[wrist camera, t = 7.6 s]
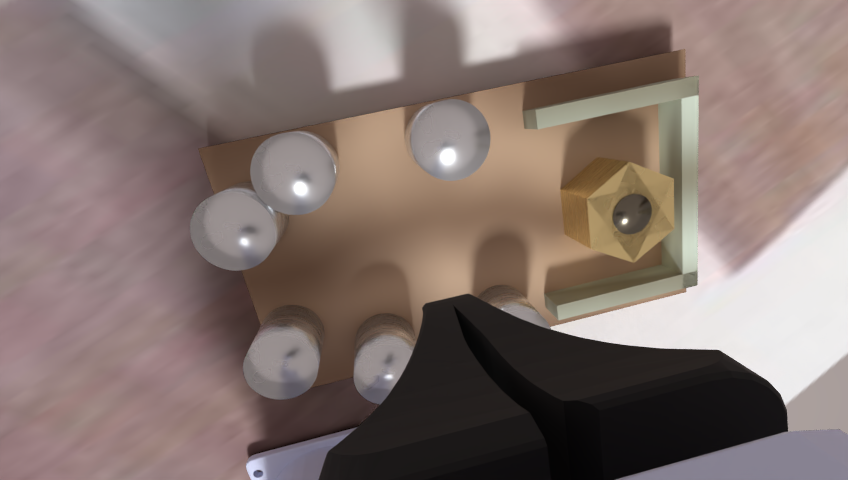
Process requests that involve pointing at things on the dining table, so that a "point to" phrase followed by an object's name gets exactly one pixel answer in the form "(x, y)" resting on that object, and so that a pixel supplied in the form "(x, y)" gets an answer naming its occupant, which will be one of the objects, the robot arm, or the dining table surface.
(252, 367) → the spacers
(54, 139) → the dining table surface
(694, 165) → the tan tray
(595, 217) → the nut
